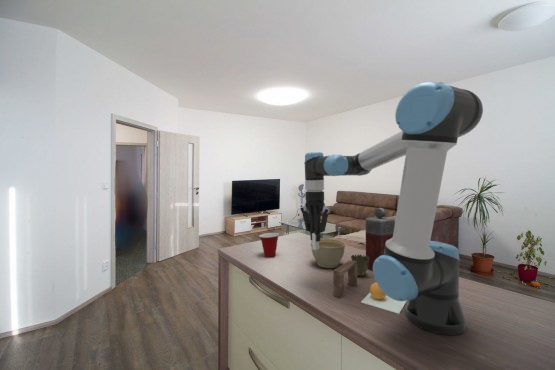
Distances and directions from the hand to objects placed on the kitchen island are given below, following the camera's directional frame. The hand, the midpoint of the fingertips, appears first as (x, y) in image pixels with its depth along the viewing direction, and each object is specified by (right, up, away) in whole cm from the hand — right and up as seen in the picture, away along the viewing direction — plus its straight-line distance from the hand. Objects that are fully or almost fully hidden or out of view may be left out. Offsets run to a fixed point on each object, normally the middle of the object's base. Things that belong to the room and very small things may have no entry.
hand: (315, 248), depth 103 cm
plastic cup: (-20, -13, +35) cm, 42 cm away
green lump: (+20, -13, +6) cm, 25 cm away
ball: (+20, -11, -15) cm, 27 cm away
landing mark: (+21, -14, -16) cm, 30 cm away
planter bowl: (+9, -13, +19) cm, 25 cm away
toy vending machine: (+32, -13, +13) cm, 37 cm away
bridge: (+10, -14, -8) cm, 19 cm away
